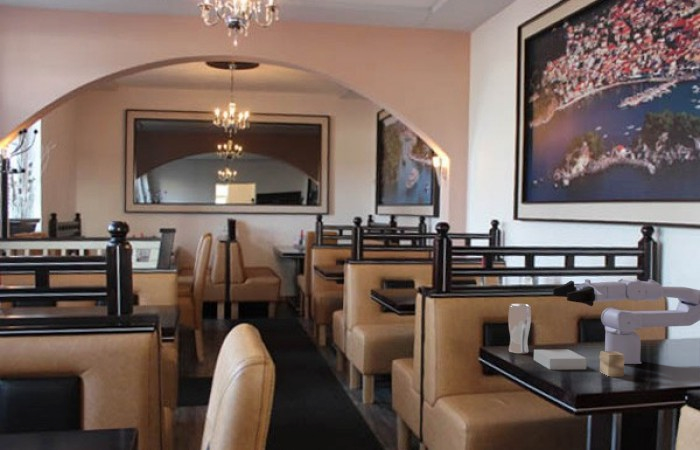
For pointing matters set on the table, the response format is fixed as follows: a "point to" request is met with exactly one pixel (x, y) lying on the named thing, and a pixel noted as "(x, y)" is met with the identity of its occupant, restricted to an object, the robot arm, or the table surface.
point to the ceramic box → (560, 359)
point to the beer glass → (519, 327)
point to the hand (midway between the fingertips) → (560, 294)
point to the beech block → (611, 363)
